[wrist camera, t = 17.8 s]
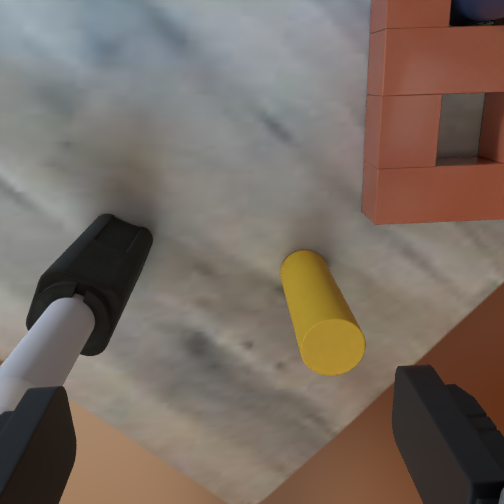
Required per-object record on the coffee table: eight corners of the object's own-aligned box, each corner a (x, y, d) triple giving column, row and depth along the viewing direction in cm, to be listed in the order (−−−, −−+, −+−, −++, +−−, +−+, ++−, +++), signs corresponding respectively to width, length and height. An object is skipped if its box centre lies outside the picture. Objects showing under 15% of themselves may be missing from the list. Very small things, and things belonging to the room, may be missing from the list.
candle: (156, 232, 41) (60, 434, 17) (136, 282, 42) (22, 532, 19) (99, 209, 40) (-85, 390, 17) (80, 261, 42) (-113, 496, 18)
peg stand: (376, -118, 33) (395, -143, 30) (573, -122, 34) (616, -147, 30) (361, 212, 41) (374, 225, 37) (520, 205, 42) (549, 217, 38)
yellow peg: (279, 250, 42) (300, 320, 30) (327, 248, 42) (367, 317, 30) (280, 294, 43) (300, 378, 31) (326, 292, 44) (364, 374, 31)
